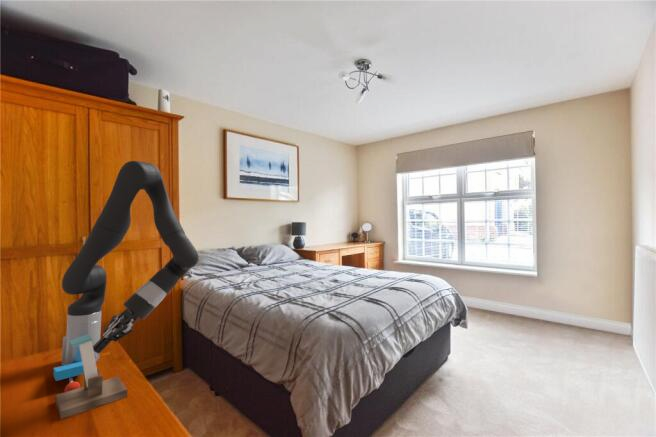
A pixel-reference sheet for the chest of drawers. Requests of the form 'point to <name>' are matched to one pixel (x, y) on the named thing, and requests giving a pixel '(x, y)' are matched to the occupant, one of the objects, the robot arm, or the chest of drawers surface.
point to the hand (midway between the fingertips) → (94, 351)
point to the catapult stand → (90, 396)
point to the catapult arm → (86, 356)
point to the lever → (69, 374)
